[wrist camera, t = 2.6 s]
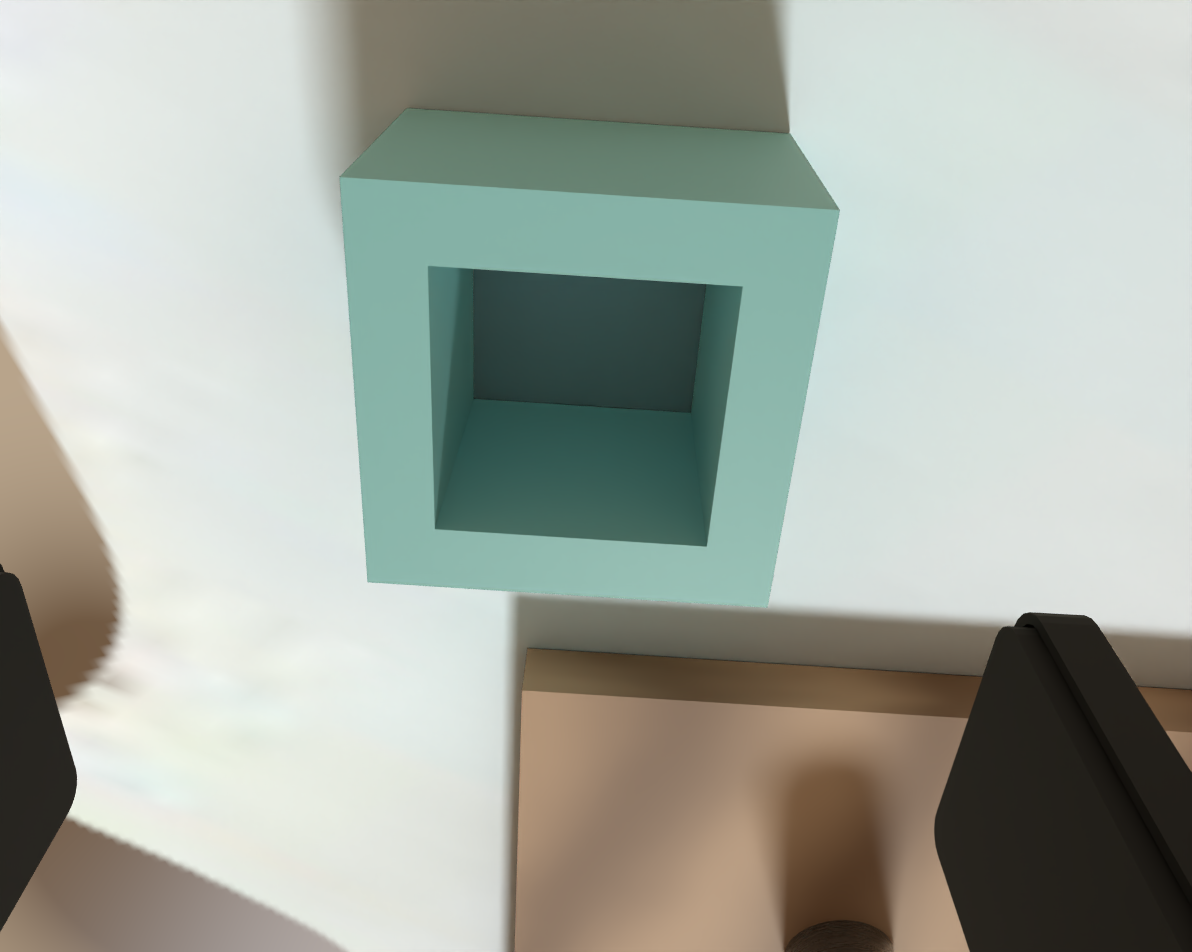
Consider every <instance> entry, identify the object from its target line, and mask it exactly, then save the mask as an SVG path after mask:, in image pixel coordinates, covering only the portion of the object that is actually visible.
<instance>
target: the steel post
mask: <svg viewBox="0 0 1192 952" xmlns="http://www.w3.org/2000/svg"><path fill="white" fill-rule="evenodd" d="M785 952H894V949H893V945H892V942H891V940H890V939H889V937H888V936H887V935H886V934H885V933H884V932H882V931H881V930H880V929H878V928H876V927H874V926H872V925H870V924H866V923H863V922H858V921H851V920H835V921H827V922H823V923H819V924H816V925H813V926H811V927H808V928H806V929H804V930H803V931H801V932H799V933H798V934H797V935H795V936H794V937H793V938H792V939H791V941H790V942H789V943H788V945H787V947H786V949H785Z"/></svg>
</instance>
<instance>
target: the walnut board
mask: <svg viewBox="0 0 1192 952" xmlns="http://www.w3.org/2000/svg"><path fill="white" fill-rule="evenodd" d="M981 680H982V677H975V676H959V675H944V674H928V673H912V672H896V671H880V670H864V669H848V668H833V667H817V666H801V665H785V664H769V663H753V662H738V661H722V660H706V659H690V658H674V657H658V656H642V655H627V654H611V653H595V652H579V651H563V650H547V649H532V648H527V656H526V663H525V671H524V679H523V686H522V706H521V741H520V776H519V811H518V846H517V881H516V916H515V951H514V952H785V949H786V947H787V945H788V943H789V942H790V941H791V939H792V938H793V937H794V936H795V935H797V934H798V933H799V932H801V931H803V930H804V929H806V928H808V927H811V926H813V925H816V924H819V923H823V922H827V921H835V920H851V921H858V922H863V923H866V924H870V925H872V926H874V927H876V928H878V929H880V930H881V931H882V932H884V933H885V934H886V935H887V936H888V937H889V939H890V940H891V942H892V945H893V949H894V952H970V951H969V948H968V945H967V942H966V939H965V936H964V933H963V930H962V927H961V924H960V921H959V918H958V915H957V912H956V909H955V906H954V903H953V900H952V897H951V894H950V891H949V888H948V885H947V882H946V879H945V876H944V872H943V869H942V866H941V863H940V860H939V857H938V854H937V850H936V846H935V838H934V823H935V816H936V812H937V809H938V806H939V803H940V800H941V797H942V794H943V792H944V789H945V786H946V783H947V780H948V777H949V774H950V771H951V768H952V765H953V762H954V759H955V756H956V753H957V751H958V748H959V745H960V742H961V739H962V736H963V733H964V730H965V727H966V724H967V721H968V718H969V715H970V712H971V710H972V707H973V704H974V701H975V698H976V695H977V692H978V689H979V686H980V683H981ZM1137 688H1138V689H1139V691H1140V692H1141V694H1142V696H1143V697H1144V699H1145V700H1146V702H1147V703H1148V705H1149V706H1150V708H1151V710H1152V711H1153V713H1154V714H1155V716H1156V717H1157V719H1158V721H1159V722H1160V724H1161V725H1162V727H1163V728H1164V730H1165V731H1166V733H1167V735H1168V736H1169V738H1170V739H1171V741H1172V742H1173V744H1174V746H1175V747H1176V749H1177V750H1178V752H1179V753H1180V755H1181V757H1182V758H1183V760H1184V761H1185V763H1186V764H1187V766H1188V767H1189V769H1190V771H1191V772H1192V690H1181V689H1165V688H1150V687H1137Z"/></svg>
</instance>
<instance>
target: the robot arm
mask: <svg viewBox="0 0 1192 952" xmlns="http://www.w3.org/2000/svg"><path fill="white" fill-rule="evenodd" d="M76 787H77V774H76V768H75V765H74V761H73V758H72V755H71V751H70V748H69V745H68V741H67V738H66V734H65V731H64V728H63V724H62V721H61V718H60V714H59V711H58V707H57V704H56V701H55V697H54V694H53V690H52V687H51V684H50V680H49V677H48V674H47V670H46V667H45V663H44V660H43V657H42V653H41V650H40V647H39V643H38V640H37V636H36V633H35V630H34V627H33V623H32V620H31V616H30V613H29V609H28V606H27V603H26V599H25V596H24V592H23V589H22V586H21V584H20V581H19V579H18V578H17V577H16V576H15V575H14V574H11V573H6V572H4V570H3V567H2V565H1V564H0V931H1V930H2V928H3V926H4V924H5V923H6V921H7V919H8V917H9V916H10V914H11V912H12V910H13V909H14V907H15V905H16V903H17V902H18V900H19V898H20V896H21V895H22V893H23V891H24V889H25V888H26V886H27V884H28V882H29V880H30V879H31V877H32V875H33V874H34V872H35V870H36V868H37V867H38V865H39V863H40V861H41V860H42V858H43V856H44V854H45V853H46V851H47V849H48V847H49V846H50V844H51V842H52V840H53V839H54V837H55V835H56V833H57V832H58V830H59V828H60V826H61V825H62V823H63V821H64V819H65V818H66V816H67V814H68V812H69V810H70V808H71V806H72V804H73V800H74V797H75V793H76ZM934 838H935V846H936V850H937V854H938V857H939V860H940V863H941V866H942V869H943V872H944V876H945V879H946V882H947V885H948V888H949V891H950V894H951V897H952V900H953V903H954V906H955V909H956V912H957V915H958V918H959V921H960V924H961V927H962V930H963V933H964V936H965V939H966V942H967V945H968V948H969V951H970V952H1192V772H1191V771H1190V769H1189V767H1188V766H1187V764H1186V763H1185V761H1184V760H1183V758H1182V757H1181V755H1180V753H1179V752H1178V750H1177V749H1176V747H1175V746H1174V744H1173V742H1172V741H1171V739H1170V738H1169V736H1168V735H1167V733H1166V731H1165V730H1164V728H1163V727H1162V725H1161V724H1160V722H1159V721H1158V719H1157V717H1156V716H1155V714H1154V713H1153V711H1152V710H1151V708H1150V706H1149V705H1148V703H1147V702H1146V700H1145V699H1144V697H1143V696H1142V694H1141V692H1140V691H1139V689H1138V688H1137V686H1136V685H1135V683H1134V681H1133V680H1132V678H1131V677H1130V675H1129V674H1128V672H1127V670H1126V669H1125V667H1124V666H1123V664H1122V663H1121V661H1120V660H1119V658H1118V656H1117V655H1116V653H1115V652H1114V650H1113V649H1112V647H1111V645H1110V644H1109V642H1108V641H1107V639H1106V638H1105V636H1104V635H1103V633H1102V631H1101V630H1100V628H1099V627H1098V625H1097V624H1096V623H1095V622H1094V621H1093V620H1092V619H1091V618H1089V617H1087V616H1085V615H1068V614H1049V613H1031V612H1029V613H1025V614H1023V615H1022V616H1021V617H1020V618H1019V619H1018V620H1017V622H1016V624H1015V626H1014V627H1010V626H1007V627H1003V628H1002V629H1001V630H1000V631H999V633H998V635H997V637H996V639H995V642H994V645H993V648H992V651H991V654H990V657H989V660H988V663H987V666H986V669H985V671H984V674H983V677H982V680H981V683H980V686H979V689H978V692H977V695H976V698H975V701H974V704H973V707H972V710H971V712H970V715H969V718H968V721H967V724H966V727H965V730H964V733H963V736H962V739H961V742H960V745H959V748H958V751H957V753H956V756H955V759H954V762H953V765H952V768H951V771H950V774H949V777H948V780H947V783H946V786H945V789H944V792H943V794H942V797H941V800H940V803H939V806H938V809H937V812H936V816H935V823H934Z"/></svg>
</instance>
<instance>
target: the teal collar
mask: <svg viewBox="0 0 1192 952" xmlns="http://www.w3.org/2000/svg"><path fill="white" fill-rule="evenodd" d="M340 191H341V205H342V219H343V234H344V248H345V263H346V277H347V292H348V306H349V321H350V335H351V349H352V364H353V378H354V393H355V407H356V422H357V436H358V451H359V465H360V479H361V494H362V508H363V523H364V537H365V552H366V566H367V580H368V582H372V583H388V584H403V585H419V586H435V587H451V588H466V589H482V590H498V591H514V592H529V593H545V594H561V595H577V596H592V597H608V598H624V599H640V600H655V601H671V602H687V603H702V604H718V605H734V606H750V607H765V608H768V602H769V597H770V591H771V586H772V580H773V575H774V569H775V564H776V558H777V553H778V547H779V542H780V536H781V531H782V525H783V520H784V514H785V509H786V503H787V498H788V492H789V487H790V481H791V476H792V470H793V465H794V459H795V454H796V448H797V443H798V437H799V432H800V426H801V421H802V415H803V410H804V404H805V399H806V393H807V388H808V382H809V377H810V371H811V366H812V360H813V355H814V349H815V344H816V338H817V333H818V327H819V322H820V316H821V311H822V305H823V300H824V294H825V289H826V283H827V278H828V273H829V267H830V262H831V256H832V251H833V245H834V240H835V234H836V229H837V223H838V218H839V212H840V210H839V208H838V207H837V205H836V203H835V202H834V200H833V199H832V197H831V196H830V194H829V193H828V191H827V190H826V188H825V186H824V185H823V183H822V182H821V180H820V179H819V177H818V176H817V174H816V173H815V171H814V169H813V168H812V166H811V165H810V163H809V162H808V160H807V159H806V157H805V156H804V154H803V152H802V151H801V149H800V148H799V146H798V145H797V143H796V142H795V140H794V139H793V137H792V135H791V134H789V133H774V132H759V131H744V130H729V129H714V128H699V127H684V126H669V125H654V124H639V123H624V122H609V121H594V120H579V119H564V118H548V117H533V116H518V115H503V114H488V113H473V112H458V111H443V110H428V109H413V108H407V109H406V110H405V111H404V112H403V113H402V114H401V115H400V116H399V117H398V118H397V119H396V120H395V121H394V122H393V123H392V124H391V125H390V126H389V127H388V128H387V129H386V130H385V131H384V132H383V133H382V134H381V135H380V136H379V137H378V138H377V139H376V140H375V141H374V142H373V143H372V144H371V145H370V146H369V148H368V149H367V150H366V151H365V152H364V153H363V154H362V155H361V156H360V157H359V158H358V159H357V160H356V161H355V162H354V163H353V164H352V165H351V166H350V167H349V168H348V169H347V170H346V171H345V172H344V173H343V174H342V175H341V176H340ZM473 269H483V270H499V271H514V272H529V273H544V274H560V275H575V276H590V277H605V278H621V279H636V280H651V281H666V282H682V283H697V284H706V291H705V299H704V307H703V316H702V324H701V333H700V341H699V349H698V358H697V366H696V375H695V383H694V391H693V400H692V408H691V413H687V412H671V411H656V410H640V409H625V408H609V407H594V406H578V405H563V404H548V403H532V402H517V401H501V400H486V399H474V328H473Z"/></svg>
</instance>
